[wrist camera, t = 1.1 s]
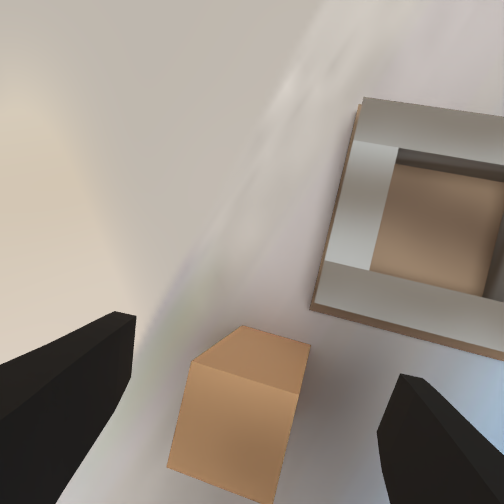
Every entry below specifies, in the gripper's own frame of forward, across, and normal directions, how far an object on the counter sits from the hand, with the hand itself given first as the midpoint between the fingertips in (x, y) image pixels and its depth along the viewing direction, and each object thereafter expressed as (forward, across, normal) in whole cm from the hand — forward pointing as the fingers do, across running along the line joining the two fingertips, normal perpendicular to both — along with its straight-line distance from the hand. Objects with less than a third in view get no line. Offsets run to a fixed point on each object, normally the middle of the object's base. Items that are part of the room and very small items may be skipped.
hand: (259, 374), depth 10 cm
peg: (+9, -1, +7) cm, 11 cm away
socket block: (+11, -8, -2) cm, 14 cm away
